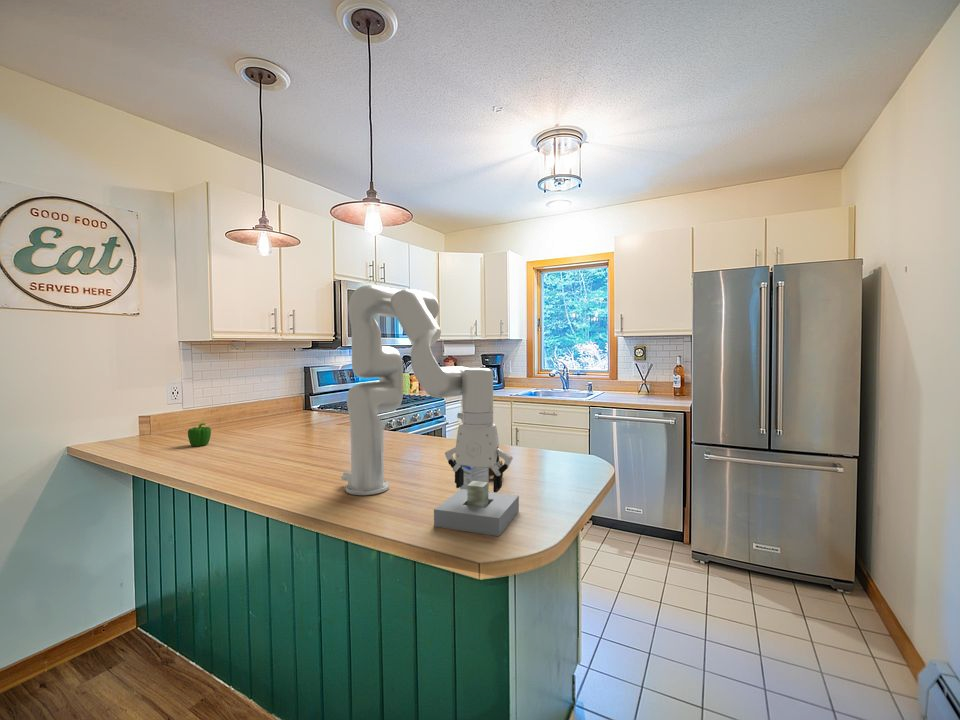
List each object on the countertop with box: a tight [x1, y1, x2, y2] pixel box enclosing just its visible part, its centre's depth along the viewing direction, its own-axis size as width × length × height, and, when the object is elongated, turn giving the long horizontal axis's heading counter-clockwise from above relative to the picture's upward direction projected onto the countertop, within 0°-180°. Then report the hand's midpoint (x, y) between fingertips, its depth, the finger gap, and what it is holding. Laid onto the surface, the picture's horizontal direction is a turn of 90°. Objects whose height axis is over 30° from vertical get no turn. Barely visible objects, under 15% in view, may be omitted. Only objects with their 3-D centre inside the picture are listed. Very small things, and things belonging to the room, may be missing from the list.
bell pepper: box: [187, 422, 212, 447], centre depth 191 cm, size 8×8×10 cm
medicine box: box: [459, 466, 490, 491], centre depth 126 cm, size 8×4×9 cm, turn 141°
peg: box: [467, 481, 489, 508], centre depth 106 cm, size 4×4×8 cm
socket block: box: [433, 488, 520, 537], centre depth 106 cm, size 16×16×4 cm
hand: (478, 488), depth 106 cm, fingers open, 9 cm apart
